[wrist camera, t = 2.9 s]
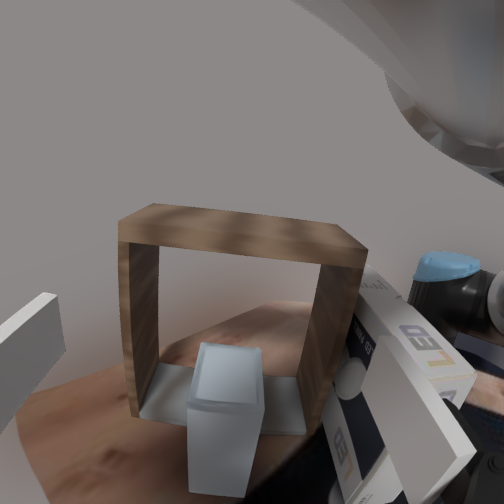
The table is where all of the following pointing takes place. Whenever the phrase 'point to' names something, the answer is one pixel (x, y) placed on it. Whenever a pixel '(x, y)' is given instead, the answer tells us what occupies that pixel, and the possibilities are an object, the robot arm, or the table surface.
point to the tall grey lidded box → (224, 418)
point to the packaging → (353, 401)
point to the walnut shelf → (248, 244)
